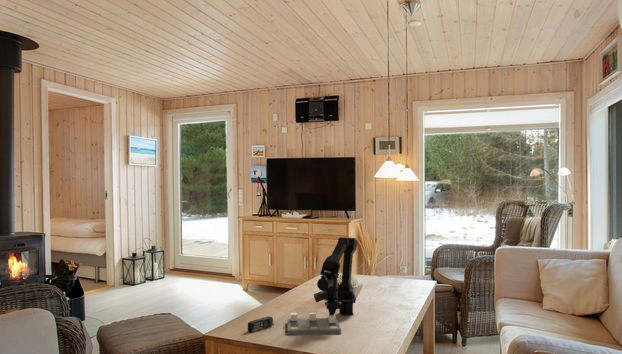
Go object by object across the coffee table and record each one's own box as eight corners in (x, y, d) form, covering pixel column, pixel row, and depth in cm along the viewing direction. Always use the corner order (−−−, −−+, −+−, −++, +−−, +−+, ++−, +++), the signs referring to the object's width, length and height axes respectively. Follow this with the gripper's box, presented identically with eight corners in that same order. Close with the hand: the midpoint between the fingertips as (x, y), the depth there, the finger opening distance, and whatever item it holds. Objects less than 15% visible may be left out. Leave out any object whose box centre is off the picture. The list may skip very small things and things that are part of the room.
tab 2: (334, 321, 203) (334, 315, 203) (335, 323, 201) (335, 316, 201) (328, 321, 203) (328, 315, 203) (329, 323, 201) (329, 316, 201)
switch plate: (336, 322, 209) (336, 317, 209) (340, 333, 193) (340, 329, 193) (287, 322, 208) (287, 318, 208) (287, 334, 192) (287, 330, 192)
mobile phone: (250, 323, 193) (276, 315, 204) (246, 321, 196) (272, 314, 206) (250, 334, 193) (276, 325, 204) (246, 332, 196) (272, 324, 206)
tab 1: (296, 319, 206) (296, 313, 206) (296, 320, 204) (296, 314, 204) (290, 319, 206) (290, 313, 206) (290, 320, 204) (290, 314, 204)
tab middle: (315, 318, 207) (315, 312, 207) (315, 320, 205) (315, 314, 205) (309, 319, 207) (309, 312, 207) (309, 320, 204) (309, 314, 204)
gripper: (313, 281, 214) (313, 313, 214) (316, 291, 195) (315, 325, 195) (335, 281, 214) (335, 312, 214) (340, 291, 196) (340, 325, 196)
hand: (331, 318), depth 205 cm, fingers closed
